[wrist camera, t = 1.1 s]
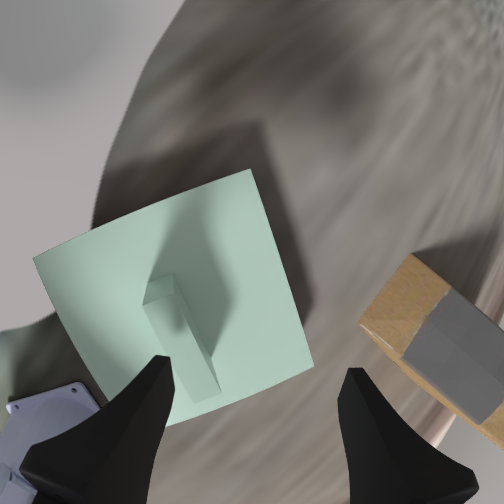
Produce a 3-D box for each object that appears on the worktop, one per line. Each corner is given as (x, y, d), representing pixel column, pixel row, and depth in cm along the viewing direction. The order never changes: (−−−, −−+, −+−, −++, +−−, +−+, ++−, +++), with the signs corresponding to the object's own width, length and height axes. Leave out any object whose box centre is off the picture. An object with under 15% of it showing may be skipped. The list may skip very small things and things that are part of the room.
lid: (135, 424, 20) (132, 474, 15) (40, 254, 17) (2, 273, 12) (306, 357, 23) (340, 395, 17) (244, 170, 19) (272, 160, 14)
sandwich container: (409, 248, 27) (551, 286, 12) (461, 331, 31) (556, 377, 17) (352, 321, 26) (483, 410, 12) (419, 388, 31) (507, 453, 16)
